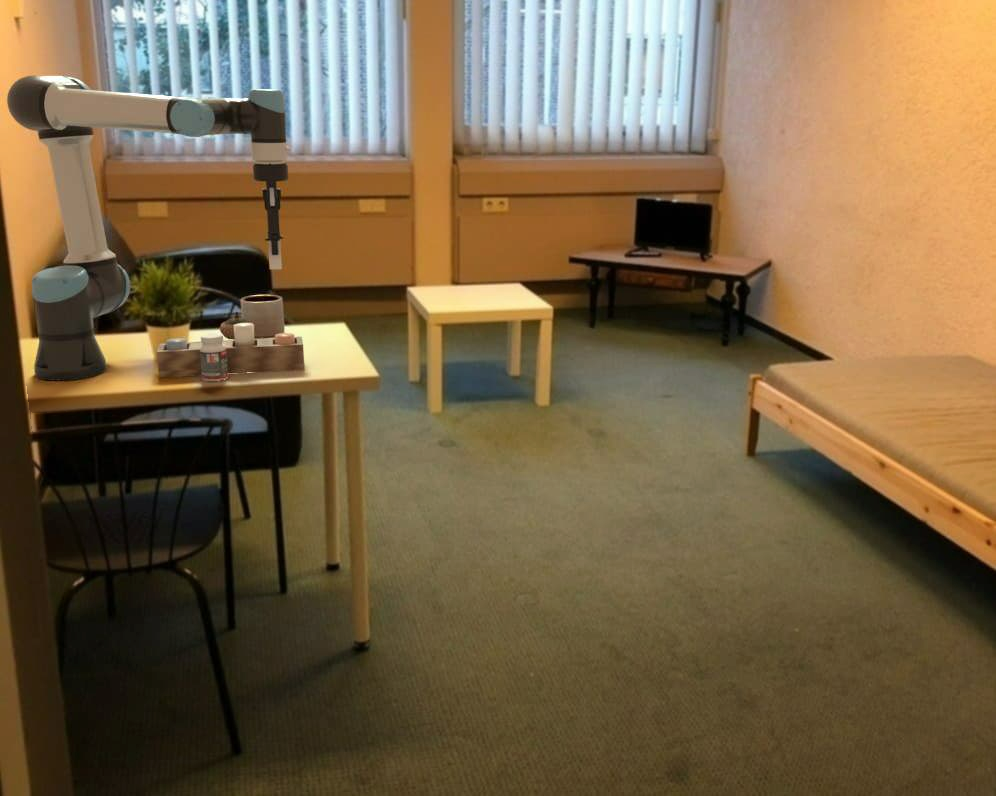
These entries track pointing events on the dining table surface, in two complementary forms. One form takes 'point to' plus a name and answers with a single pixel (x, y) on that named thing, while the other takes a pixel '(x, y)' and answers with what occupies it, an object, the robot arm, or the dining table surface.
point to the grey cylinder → (176, 344)
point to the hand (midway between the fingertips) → (275, 268)
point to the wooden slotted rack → (233, 358)
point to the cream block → (244, 334)
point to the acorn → (231, 326)
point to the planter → (264, 314)
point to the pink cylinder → (284, 338)
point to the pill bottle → (213, 357)
